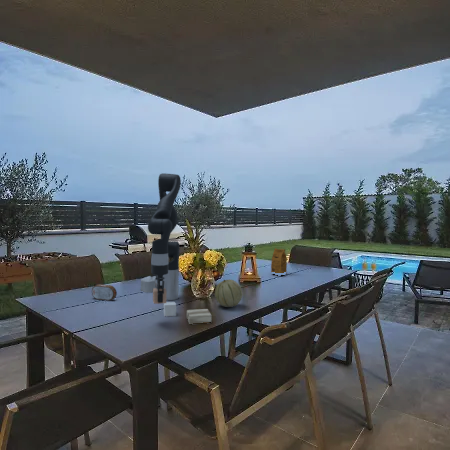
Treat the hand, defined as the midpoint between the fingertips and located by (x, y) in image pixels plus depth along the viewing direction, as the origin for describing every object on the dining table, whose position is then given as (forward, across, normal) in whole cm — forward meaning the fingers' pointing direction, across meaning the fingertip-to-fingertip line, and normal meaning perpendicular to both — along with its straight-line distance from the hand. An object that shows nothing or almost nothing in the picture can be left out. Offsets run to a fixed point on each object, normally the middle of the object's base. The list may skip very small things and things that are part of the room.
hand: (159, 300), depth 146 cm
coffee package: (+12, +96, -105) cm, 143 cm away
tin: (+11, +48, +27) cm, 56 cm away
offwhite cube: (+11, +12, -6) cm, 17 cm away
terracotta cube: (+1, 0, 0) cm, 1 cm away
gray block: (+11, 0, -18) cm, 21 cm away
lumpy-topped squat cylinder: (+12, +65, -1) cm, 66 cm away
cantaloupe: (+11, +18, -38) cm, 43 cm away
